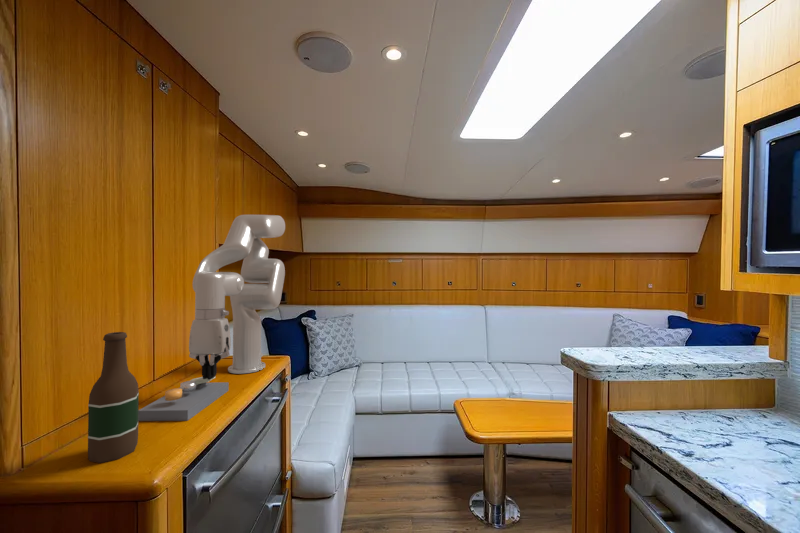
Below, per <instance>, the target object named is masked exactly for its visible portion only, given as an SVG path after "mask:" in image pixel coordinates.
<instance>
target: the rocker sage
mask: <svg viewBox="0 0 800 533" xmlns="http://www.w3.org/2000/svg"><path fill="white" fill-rule="evenodd" d="M214 379H216V376H215V377H214V378H212V379H207V378H206V379H203V376H201V377H196V378H192V379H190V380H189V381H196V385H197V384H201V383H210V381H212V380H214Z"/></svg>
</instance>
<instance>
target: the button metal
mask: <svg viewBox="0 0 800 533" xmlns="http://www.w3.org/2000/svg"><path fill="white" fill-rule="evenodd" d="M179 388H180V389H182V392H188V391H192V390H195V389H196V381H190V380H186V381H183V382H181V383H180V387H179Z"/></svg>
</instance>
